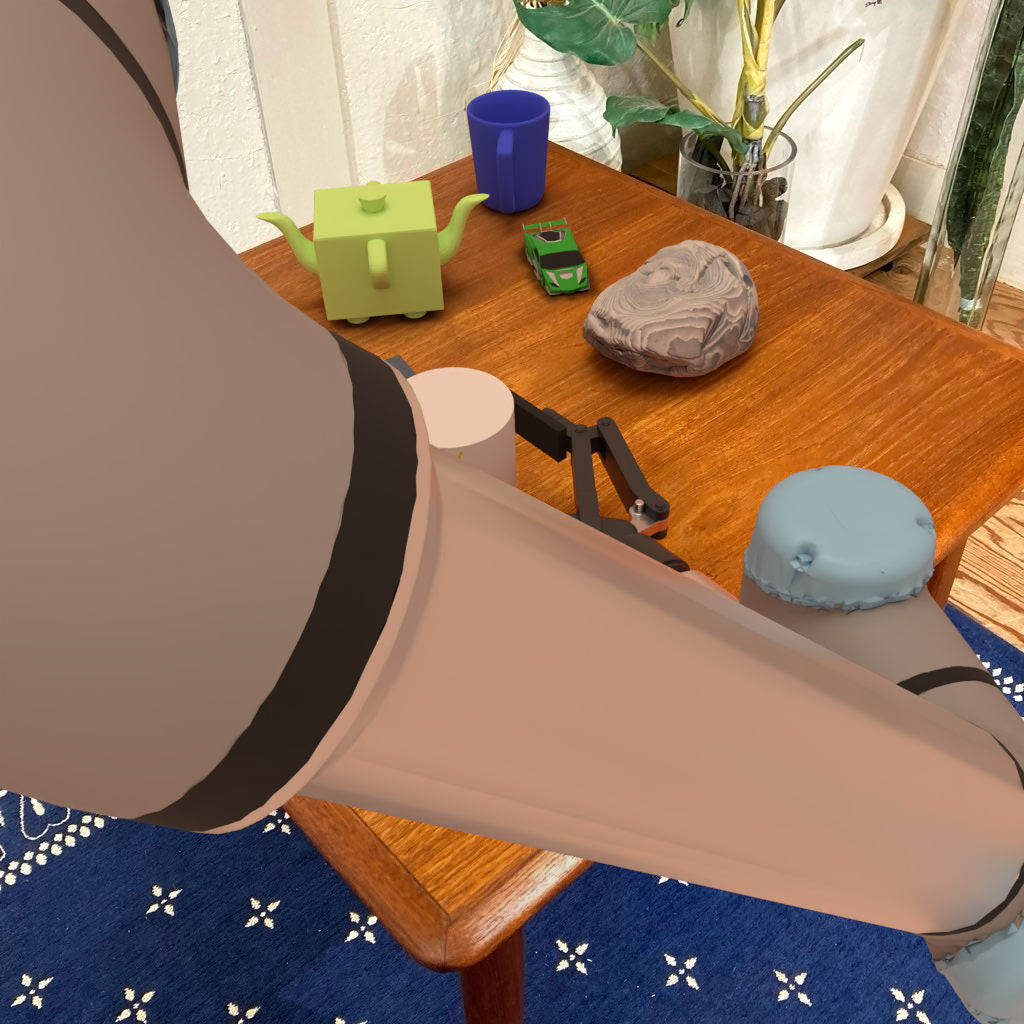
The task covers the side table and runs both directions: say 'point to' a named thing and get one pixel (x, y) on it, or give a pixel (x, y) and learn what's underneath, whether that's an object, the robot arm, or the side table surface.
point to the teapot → (377, 248)
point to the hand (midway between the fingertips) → (423, 444)
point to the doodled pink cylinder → (470, 418)
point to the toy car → (556, 258)
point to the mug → (509, 147)
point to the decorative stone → (677, 312)
